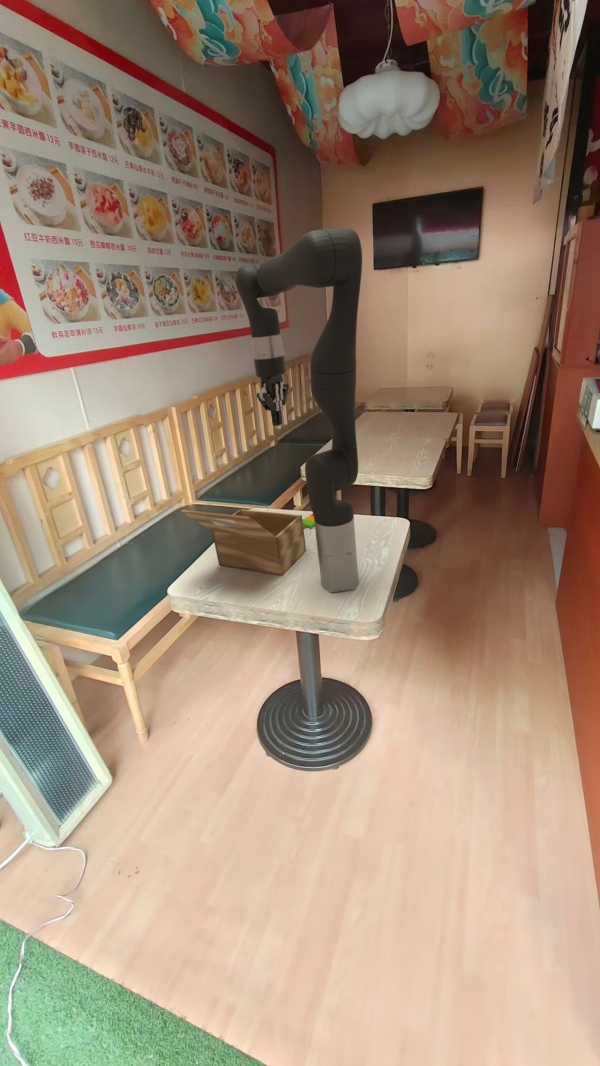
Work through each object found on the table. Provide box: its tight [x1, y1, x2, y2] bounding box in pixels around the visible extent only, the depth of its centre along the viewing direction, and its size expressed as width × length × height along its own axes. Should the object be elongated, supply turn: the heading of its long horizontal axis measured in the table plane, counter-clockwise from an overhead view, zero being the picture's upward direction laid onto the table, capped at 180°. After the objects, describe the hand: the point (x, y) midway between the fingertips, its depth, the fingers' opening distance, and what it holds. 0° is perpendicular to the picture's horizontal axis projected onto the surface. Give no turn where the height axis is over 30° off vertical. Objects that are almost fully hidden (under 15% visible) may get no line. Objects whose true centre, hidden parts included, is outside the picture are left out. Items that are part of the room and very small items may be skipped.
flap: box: [180, 509, 276, 539], centre depth 127 cm, size 14×20×1 cm
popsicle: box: [302, 513, 315, 530], centre depth 160 cm, size 6×15×2 cm, turn 138°
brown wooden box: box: [211, 509, 307, 577], centre depth 141 cm, size 14×20×11 cm
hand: (277, 424), depth 134 cm, fingers closed
